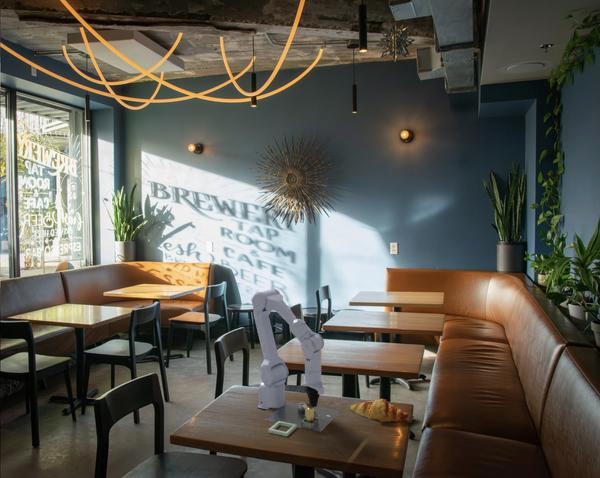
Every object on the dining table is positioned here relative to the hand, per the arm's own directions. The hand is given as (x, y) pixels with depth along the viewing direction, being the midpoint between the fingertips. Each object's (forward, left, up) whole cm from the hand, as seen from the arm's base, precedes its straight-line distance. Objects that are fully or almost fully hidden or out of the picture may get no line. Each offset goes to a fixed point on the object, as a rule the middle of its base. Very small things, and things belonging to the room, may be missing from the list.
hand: (313, 406), depth 175 cm
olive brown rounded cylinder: (+2, -7, -3) cm, 8 cm away
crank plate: (-4, -1, -4) cm, 6 cm away
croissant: (+20, +11, -5) cm, 24 cm away
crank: (-1, -2, -3) cm, 4 cm away
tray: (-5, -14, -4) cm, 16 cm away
